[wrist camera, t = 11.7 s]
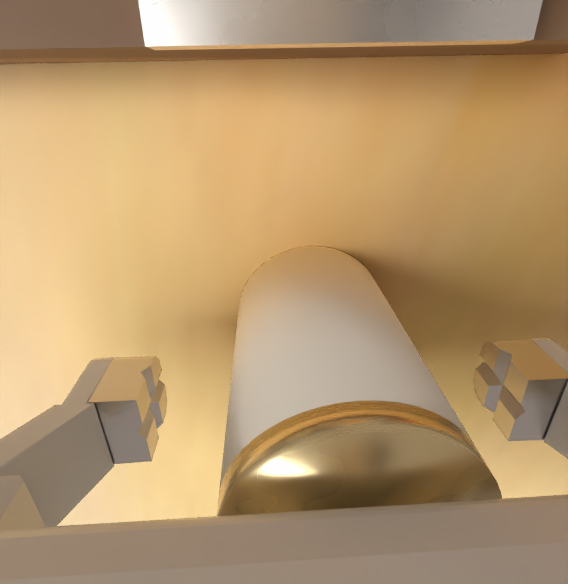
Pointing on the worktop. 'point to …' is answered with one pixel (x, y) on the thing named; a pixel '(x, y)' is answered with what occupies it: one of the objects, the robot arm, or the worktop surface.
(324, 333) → the round canister
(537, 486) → the worktop surface
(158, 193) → the worktop surface
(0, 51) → the walnut fence
